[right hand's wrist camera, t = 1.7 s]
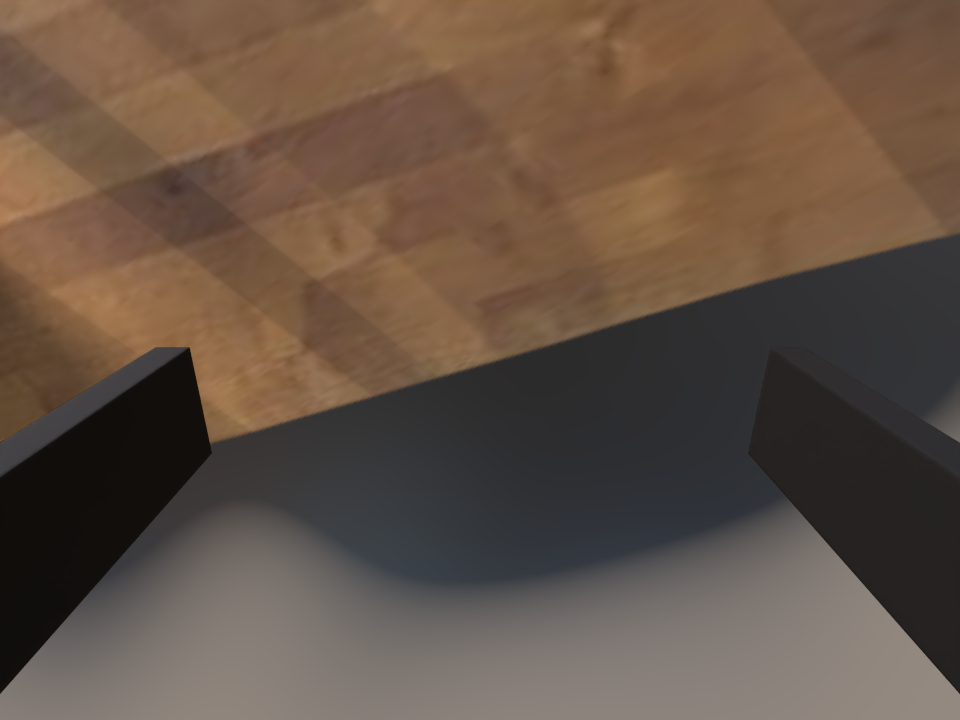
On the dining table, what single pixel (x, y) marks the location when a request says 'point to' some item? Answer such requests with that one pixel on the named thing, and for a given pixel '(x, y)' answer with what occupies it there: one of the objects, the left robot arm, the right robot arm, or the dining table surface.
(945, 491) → the right robot arm
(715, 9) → the dining table surface
